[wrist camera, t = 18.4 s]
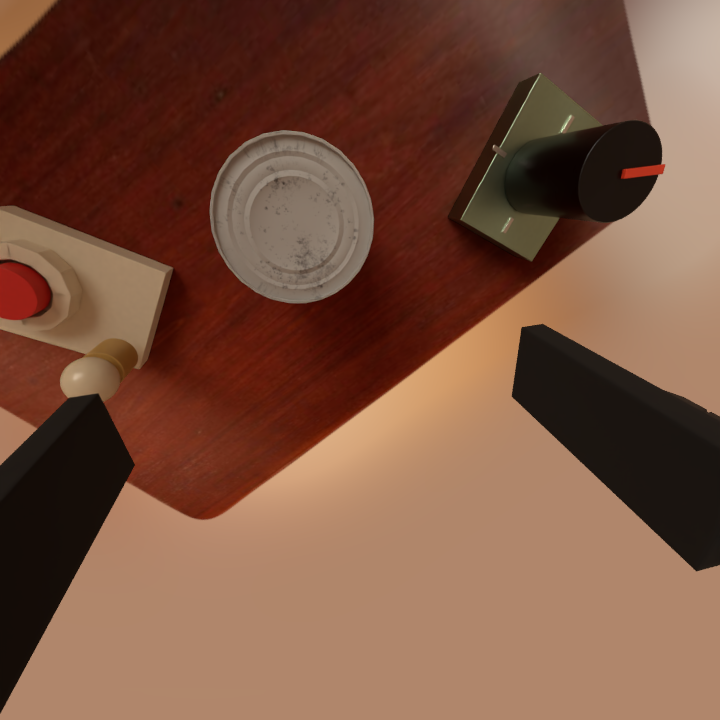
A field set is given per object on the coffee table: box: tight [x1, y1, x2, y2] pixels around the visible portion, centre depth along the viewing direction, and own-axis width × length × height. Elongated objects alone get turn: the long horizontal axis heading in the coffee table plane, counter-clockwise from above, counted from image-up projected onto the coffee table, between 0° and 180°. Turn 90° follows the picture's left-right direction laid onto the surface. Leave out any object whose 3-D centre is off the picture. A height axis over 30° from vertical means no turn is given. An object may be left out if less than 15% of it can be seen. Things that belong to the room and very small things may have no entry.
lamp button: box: [0, 263, 51, 320], centre depth 27 cm, size 4×4×2 cm
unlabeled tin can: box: [210, 130, 374, 303], centre depth 26 cm, size 10×10×12 cm
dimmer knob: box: [505, 120, 665, 223], centre depth 27 cm, size 6×6×9 cm
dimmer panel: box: [448, 73, 603, 261], centre depth 32 cm, size 12×10×3 cm
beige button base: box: [0, 206, 173, 369], centre depth 30 cm, size 10×12×4 cm
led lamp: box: [60, 338, 138, 402], centre depth 28 cm, size 4×4×6 cm
